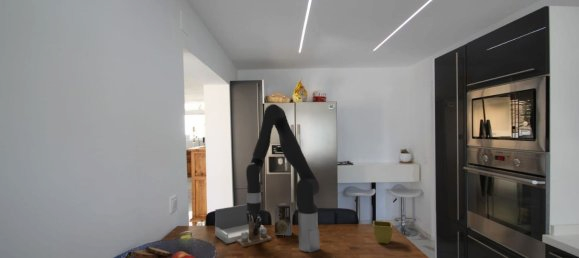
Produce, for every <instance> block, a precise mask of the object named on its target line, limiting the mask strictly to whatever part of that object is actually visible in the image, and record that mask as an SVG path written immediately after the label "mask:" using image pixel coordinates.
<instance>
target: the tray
mask: <svg viewBox="0 0 579 258" xmlns="http://www.w3.org/2000/svg"><path fill="white" fill-rule="evenodd" d="M255 222H256V221H255ZM255 226H256V224H255ZM267 230H268V229H267V227H264V228H258V235H257V236H254V226H253V222H252V221H249V237H248V232H242V233H241V239H238V240H237V241H236V243H237V244H239V245H240V246H241V247H243V248H245V247H248V246H250V247H251V246H252V245H257V244H260V243H265V242H267V241H271V240H272V237H271V236H270V235H268V233H267Z"/></svg>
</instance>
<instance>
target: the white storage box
mask: <svg viewBox="0 0 579 258" xmlns="http://www.w3.org/2000/svg"><path fill="white" fill-rule="evenodd" d="M214 211H215V213H214V214H215V215H214V220H215V221H214V231H215V232H214V236H215V237H217V238H218V239H219V240H221V241H222V242H224V243H225V244H231V243H234V242H237V240H238V239H241V233H242V232H248V237H249V225H248V221H247V215H246V213H249V211H247V203H246V204H241V205H235V206H229V207H223V208H216V209H214ZM260 228H265V227H264V225H262V224H261V227H260Z"/></svg>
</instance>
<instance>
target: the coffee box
mask: <svg viewBox="0 0 579 258" xmlns="http://www.w3.org/2000/svg"><path fill="white" fill-rule="evenodd" d="M273 209H274V210H273V211H274V236H275V235H283V236H284V235H285V236H287V237H288V236H292V235H293V233H292V232H293V229H292V227H293V225H292V203H275V204H274V207H273Z"/></svg>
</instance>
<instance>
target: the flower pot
mask: <svg viewBox="0 0 579 258" xmlns="http://www.w3.org/2000/svg"><path fill="white" fill-rule="evenodd" d="M373 231H374V233H373V234H374V237H375V241H376V243H378V244H389V243H390V242H391V241H392V236H393V225H392V222H391V221H381V220H373Z"/></svg>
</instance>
